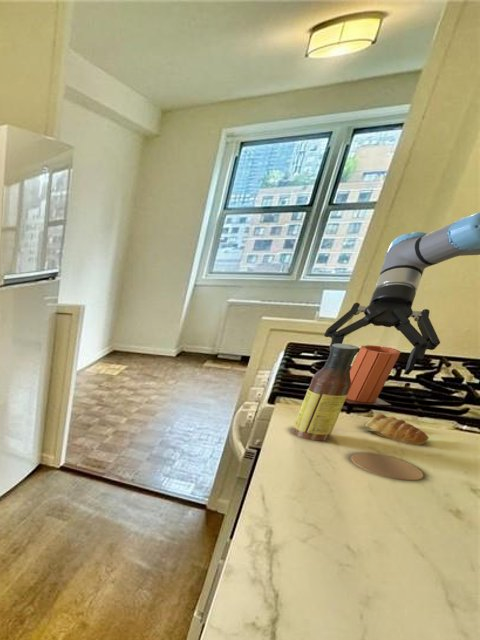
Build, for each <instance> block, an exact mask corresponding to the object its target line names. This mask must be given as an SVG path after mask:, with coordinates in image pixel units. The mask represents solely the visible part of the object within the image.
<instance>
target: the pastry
mask: <svg viewBox="0 0 480 640" xmlns="http://www.w3.org/2000/svg"><path fill="white" fill-rule="evenodd" d="M365 427H366V428H370V429H371V430H367V432H368V433H370V434H372V435H377V436H379V437H380V438H381V437H382V438H385V439H390V440H393V441H397V442H401V443H405V444H409V445H415V446H416V445H417V446H420V445H424V444H425V443H426V442H427V441H428V440H429V439H430V437H429V436H428V435H427V434H426V432H425V431H422V430H421V429H419V428H418V427H416V426H414V425H413V424H411V423H408V422H406V421H405V419H401V418H400V419H399V418H398V419H397V418H396V417H394V416H386V415H385V414H383V413H377V414H375V415H374V416H373V417H371V418H370V419H369V420H368V422H367V423H366V424H365Z"/></svg>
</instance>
